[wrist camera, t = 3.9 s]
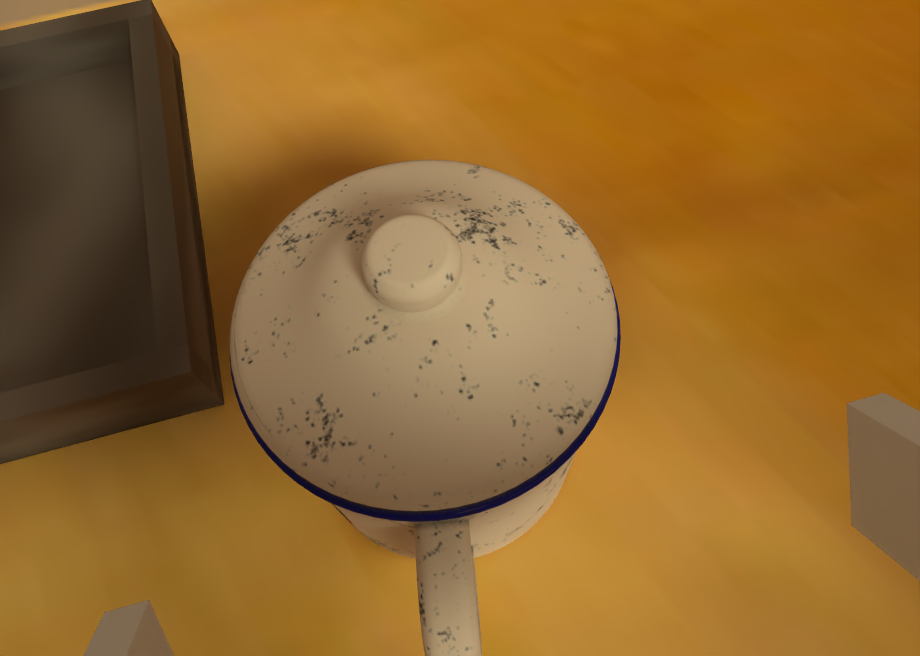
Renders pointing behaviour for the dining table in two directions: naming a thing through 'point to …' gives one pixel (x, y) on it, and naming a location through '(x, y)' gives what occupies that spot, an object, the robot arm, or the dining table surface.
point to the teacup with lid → (428, 364)
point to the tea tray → (98, 234)
